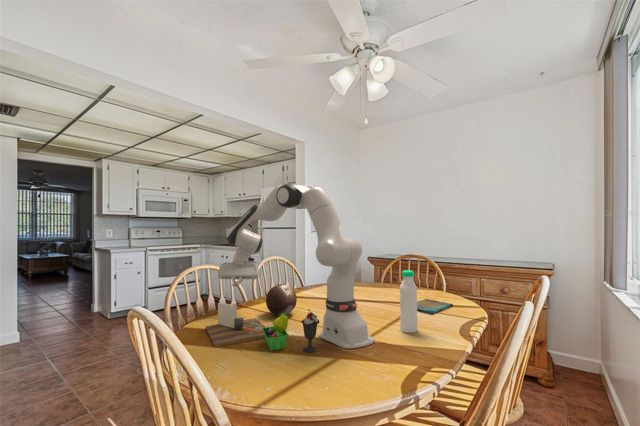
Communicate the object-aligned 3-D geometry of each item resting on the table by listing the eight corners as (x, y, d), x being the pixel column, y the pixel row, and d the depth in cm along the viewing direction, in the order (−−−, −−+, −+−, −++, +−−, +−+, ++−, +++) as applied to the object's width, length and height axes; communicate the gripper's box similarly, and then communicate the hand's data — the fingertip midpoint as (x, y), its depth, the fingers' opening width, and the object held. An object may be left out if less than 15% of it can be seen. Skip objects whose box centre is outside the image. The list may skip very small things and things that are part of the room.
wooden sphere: (283, 322, 140) (283, 289, 141) (259, 316, 148) (259, 285, 149) (302, 313, 153) (302, 283, 153) (279, 309, 161) (279, 280, 161)
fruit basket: (261, 341, 118) (262, 311, 119) (284, 338, 121) (284, 309, 122) (267, 352, 108) (267, 320, 108) (292, 349, 111) (292, 317, 111)
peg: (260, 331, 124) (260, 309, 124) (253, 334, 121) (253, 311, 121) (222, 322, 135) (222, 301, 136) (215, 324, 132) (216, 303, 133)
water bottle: (418, 329, 131) (417, 270, 131) (416, 334, 124) (415, 272, 125) (401, 326, 134) (401, 269, 134) (398, 332, 127) (398, 271, 128)
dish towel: (401, 308, 163) (401, 304, 163) (424, 301, 178) (424, 296, 179) (431, 316, 150) (431, 311, 150) (453, 307, 166) (453, 302, 166)
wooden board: (272, 336, 123) (272, 332, 123) (214, 347, 112) (215, 343, 112) (255, 320, 142) (255, 317, 142) (205, 328, 132) (205, 325, 132)
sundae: (305, 355, 106) (305, 311, 106) (298, 348, 111) (297, 306, 112) (322, 351, 109) (322, 308, 109) (314, 344, 115) (314, 304, 115)
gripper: (219, 258, 157) (212, 281, 147) (259, 258, 157) (255, 281, 147) (222, 266, 161) (215, 289, 151) (261, 266, 161) (257, 289, 151)
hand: (235, 285), depth 149 cm, fingers closed
